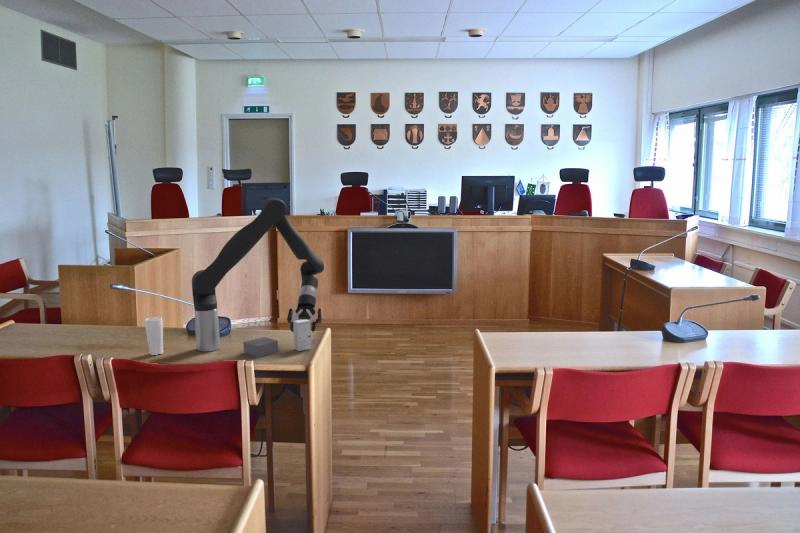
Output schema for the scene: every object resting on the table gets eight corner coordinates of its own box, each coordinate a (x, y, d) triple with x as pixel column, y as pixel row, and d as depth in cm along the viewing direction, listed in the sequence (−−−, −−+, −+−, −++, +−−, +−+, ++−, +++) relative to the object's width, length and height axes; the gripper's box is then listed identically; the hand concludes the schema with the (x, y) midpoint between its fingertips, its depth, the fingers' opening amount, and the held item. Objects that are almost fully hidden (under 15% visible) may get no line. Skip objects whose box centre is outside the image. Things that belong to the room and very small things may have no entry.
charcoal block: (244, 353, 268) (243, 341, 267) (264, 348, 275) (263, 336, 274) (257, 358, 261) (257, 346, 260) (278, 352, 268) (277, 340, 267)
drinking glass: (148, 357, 265) (145, 321, 263) (146, 353, 271) (143, 318, 269) (166, 354, 268) (163, 319, 266) (164, 350, 274) (161, 316, 272)
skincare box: (298, 351, 268) (296, 322, 266) (293, 349, 271) (292, 320, 269) (312, 348, 271) (310, 320, 269) (307, 346, 275) (306, 318, 273)
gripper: (289, 293, 278) (283, 326, 268) (322, 293, 276) (317, 326, 267) (293, 303, 284) (287, 335, 274) (325, 302, 283) (321, 335, 273)
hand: (302, 331), depth 271 cm, fingers open, 8 cm apart
